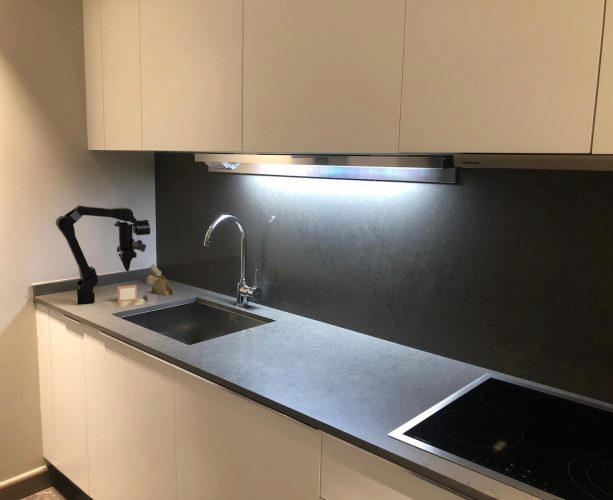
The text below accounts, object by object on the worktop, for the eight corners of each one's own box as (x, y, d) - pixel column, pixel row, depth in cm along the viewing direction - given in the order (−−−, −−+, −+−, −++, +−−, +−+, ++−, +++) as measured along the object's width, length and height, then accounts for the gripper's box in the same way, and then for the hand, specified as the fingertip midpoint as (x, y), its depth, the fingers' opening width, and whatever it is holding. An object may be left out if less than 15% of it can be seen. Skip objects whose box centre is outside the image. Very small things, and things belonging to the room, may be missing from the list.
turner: (145, 303, 238) (145, 301, 238) (141, 297, 249) (141, 295, 248) (152, 303, 240) (152, 300, 239) (148, 297, 250) (148, 294, 250)
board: (114, 308, 233) (114, 306, 233) (111, 302, 242) (111, 301, 242) (152, 304, 240) (152, 303, 240) (148, 299, 249) (148, 298, 248)
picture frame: (118, 302, 241) (117, 287, 240) (117, 301, 242) (117, 286, 241) (137, 300, 244) (136, 285, 243) (136, 299, 245) (136, 285, 244)
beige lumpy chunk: (155, 285, 276) (154, 265, 274) (143, 283, 280) (142, 264, 278) (162, 283, 281) (162, 263, 279) (151, 281, 284) (150, 262, 283)
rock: (144, 289, 258) (152, 290, 250) (154, 273, 260) (162, 274, 252) (163, 300, 263) (171, 302, 255) (172, 285, 266) (181, 286, 258)
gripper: (148, 238, 239) (149, 273, 242) (141, 232, 256) (142, 265, 259) (121, 239, 235) (122, 275, 237) (116, 233, 251) (117, 267, 254)
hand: (127, 270), depth 247 cm, fingers open, 3 cm apart
